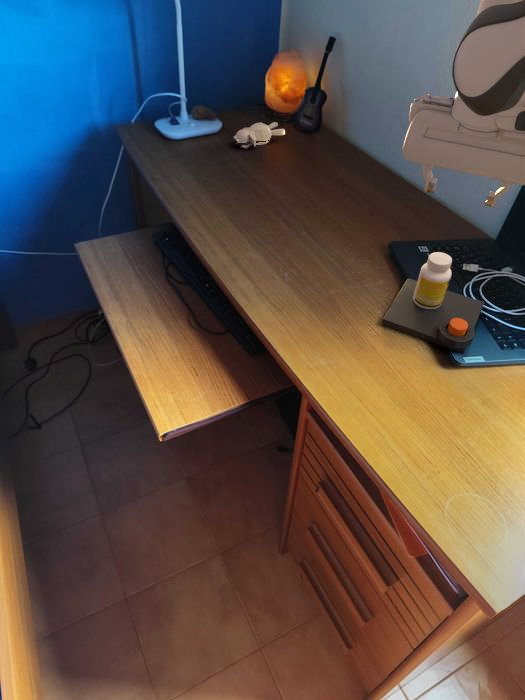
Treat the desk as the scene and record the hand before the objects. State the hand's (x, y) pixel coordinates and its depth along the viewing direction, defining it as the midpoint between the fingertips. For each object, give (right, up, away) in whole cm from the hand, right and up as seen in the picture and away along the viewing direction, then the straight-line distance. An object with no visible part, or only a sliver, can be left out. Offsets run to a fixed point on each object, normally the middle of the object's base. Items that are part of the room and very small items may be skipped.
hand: (459, 197), depth 73 cm
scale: (+1, -18, +14) cm, 23 cm away
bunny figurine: (-32, +40, +71) cm, 87 cm away
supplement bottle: (0, -15, +15) cm, 22 cm away
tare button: (+3, -21, +8) cm, 22 cm away
